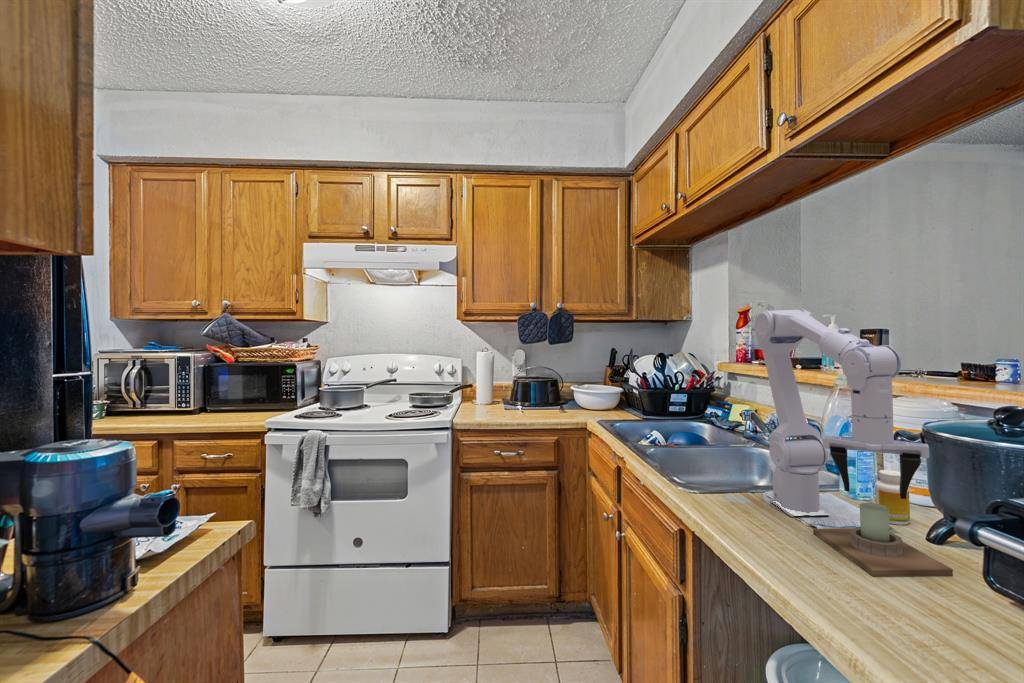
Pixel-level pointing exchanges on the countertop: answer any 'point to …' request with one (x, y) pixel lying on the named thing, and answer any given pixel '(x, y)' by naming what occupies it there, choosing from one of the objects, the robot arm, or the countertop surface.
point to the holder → (882, 554)
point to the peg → (874, 522)
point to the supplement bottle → (892, 497)
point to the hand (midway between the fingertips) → (874, 493)
